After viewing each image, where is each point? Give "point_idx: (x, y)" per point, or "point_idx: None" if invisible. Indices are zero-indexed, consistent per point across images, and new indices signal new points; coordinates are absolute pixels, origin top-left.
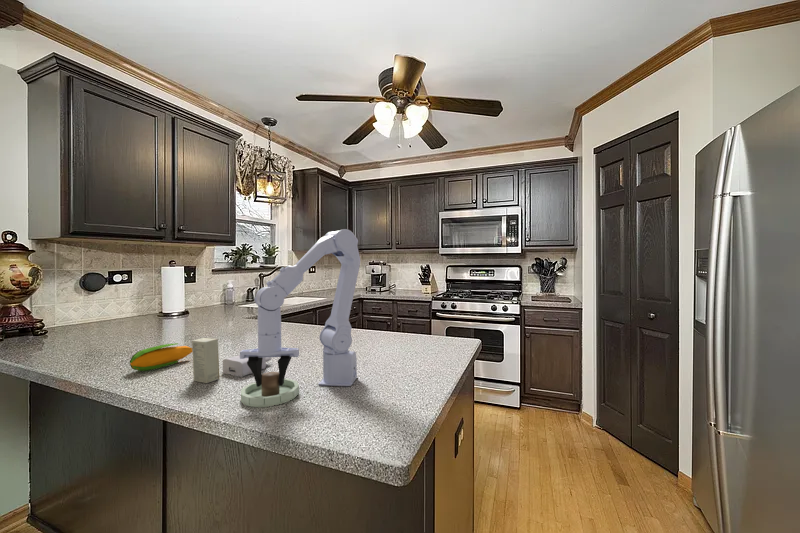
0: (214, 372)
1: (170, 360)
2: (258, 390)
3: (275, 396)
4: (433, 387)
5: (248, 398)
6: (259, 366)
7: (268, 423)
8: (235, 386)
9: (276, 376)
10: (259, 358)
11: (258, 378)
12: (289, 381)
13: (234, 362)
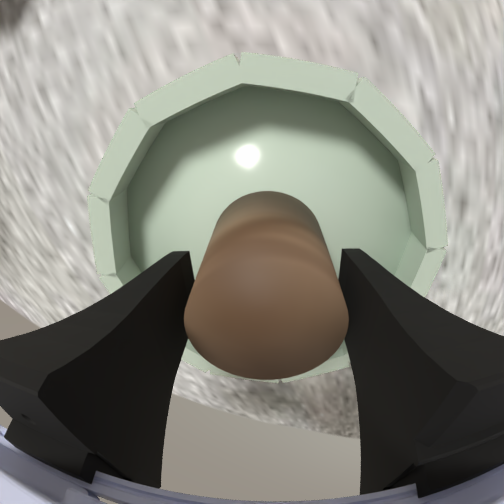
0: None
1: None
2: (165, 186)
3: (329, 371)
4: None
5: (202, 368)
6: (141, 390)
7: (322, 418)
8: (18, 100)
9: (328, 354)
10: (115, 465)
11: (182, 345)
12: (379, 131)
13: None
